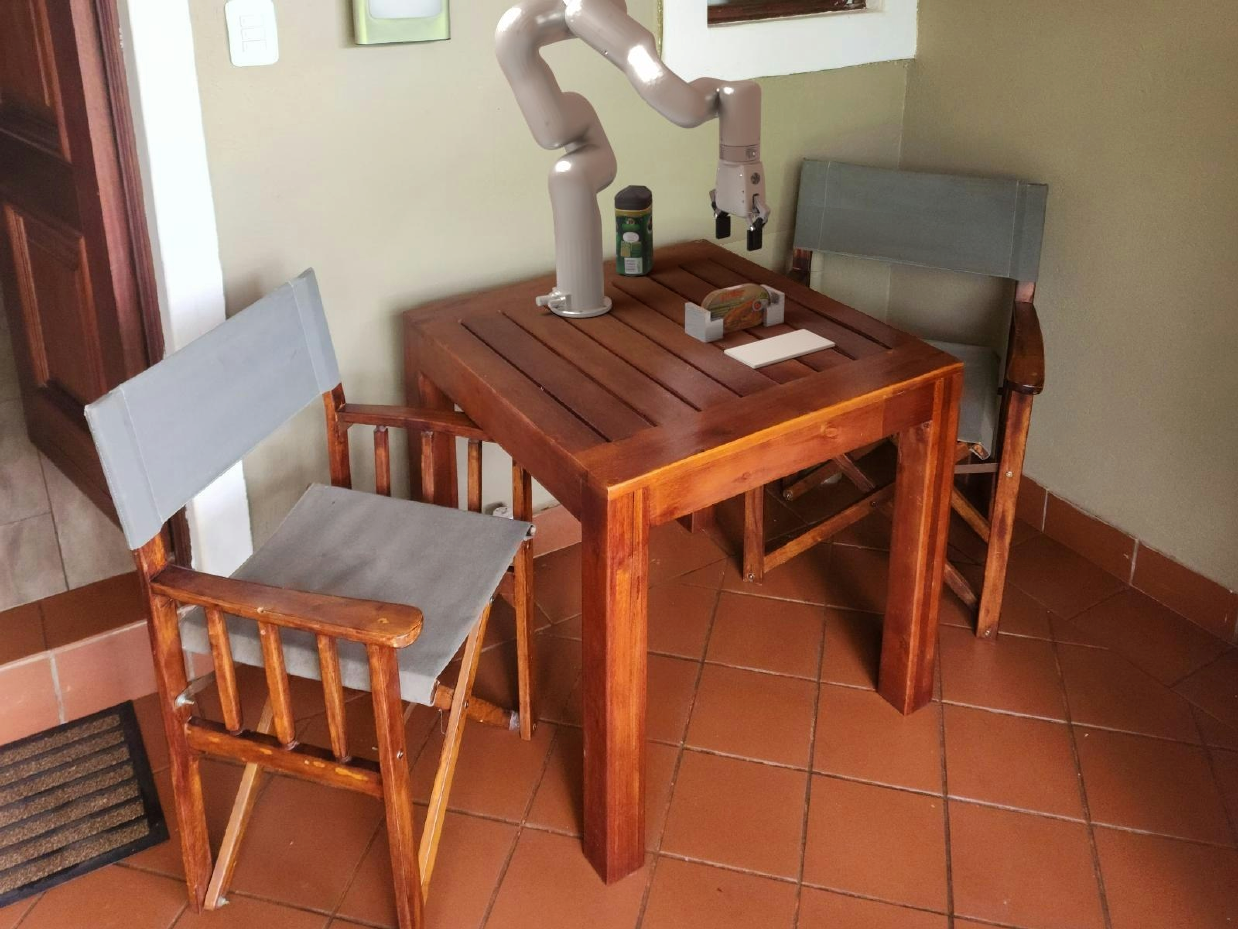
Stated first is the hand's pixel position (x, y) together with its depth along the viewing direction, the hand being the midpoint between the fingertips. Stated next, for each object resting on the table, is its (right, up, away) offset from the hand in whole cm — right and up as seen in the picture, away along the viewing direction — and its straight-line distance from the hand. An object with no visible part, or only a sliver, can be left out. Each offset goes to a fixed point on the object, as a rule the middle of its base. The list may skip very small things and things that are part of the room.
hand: (738, 243), depth 222 cm
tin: (0, -15, +8) cm, 17 cm away
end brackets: (0, -15, +8) cm, 17 cm away
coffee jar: (-19, +1, +41) cm, 45 cm away
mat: (+7, -20, -3) cm, 22 cm away
